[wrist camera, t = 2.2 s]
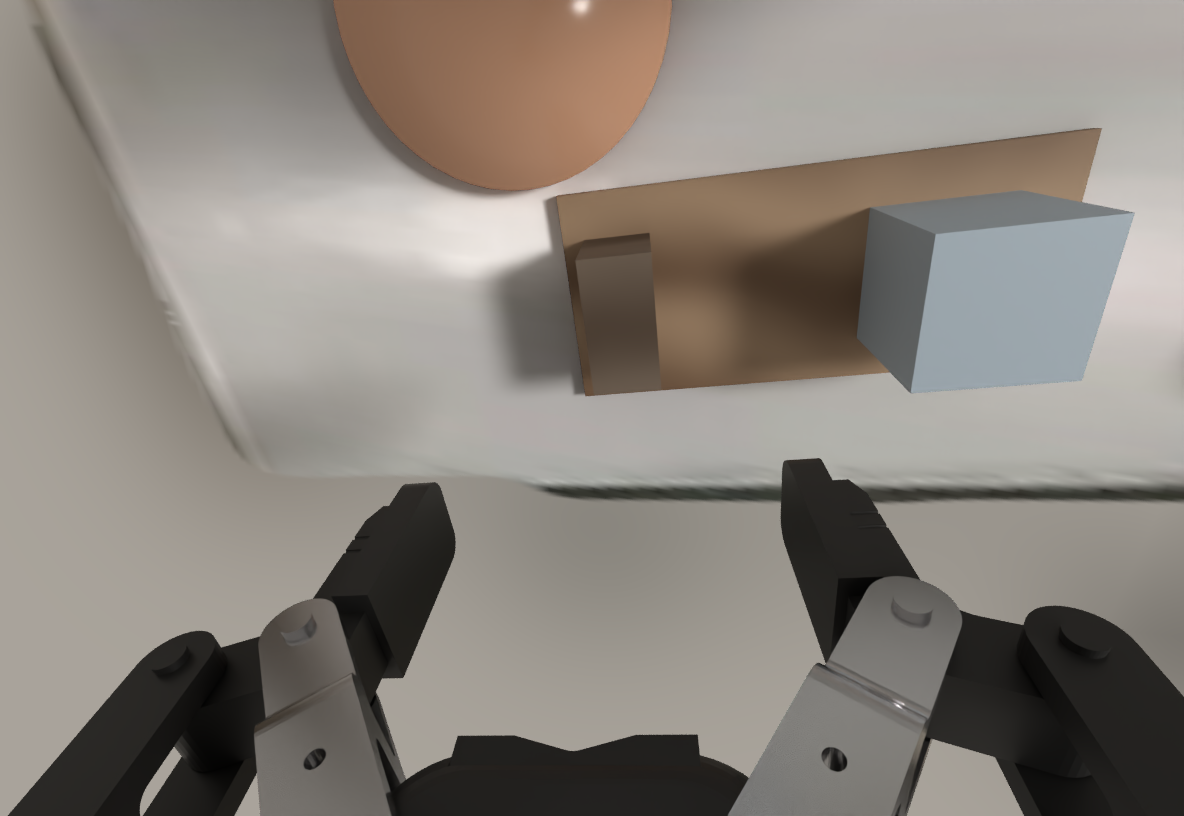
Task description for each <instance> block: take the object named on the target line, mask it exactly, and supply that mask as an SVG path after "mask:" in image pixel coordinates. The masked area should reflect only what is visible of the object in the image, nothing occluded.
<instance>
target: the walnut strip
mask: <svg viewBox="0 0 1184 816" xmlns="http://www.w3.org/2000/svg"><path fill="white" fill-rule="evenodd" d="M1101 129H1102V128H1090V129H1082V130H1074V131H1066V132H1058V133H1050V134H1042V135H1034V136H1027V137H1019V138H1011V139H1003V140H995V141H987V142H979V143H971V144H963V145H955V146H947V147H939V148H931V149H923V150H915V151H907V152H899V153H892V154H884V155H876V156H868V157H860V158H852V159H844V160H836V161H828V162H820V163H812V164H804V165H796V166H788V167H780V168H772V169H764V170H756V171H749V172H741V173H733V174H725V175H717V176H709V177H701V178H693V179H685V180H677V181H669V182H661V183H653V184H645V185H637V186H629V187H621V188H613V189H606V190H598V191H590V192H582V193H574V194H566V195H558V196H557V197H556V199H557V206H558V212H559V219H560V226H561V233H562V240H563V247H564V253H565V260H566V267H567V274H568V281H569V287H570V294H571V301H572V308H573V315H574V321H575V328H576V335H577V342H578V349H579V355H580V362H581V369H582V376H583V383H584V390H585V396H595V395H607V394H620V393H633V392H646V391H658V390H671V389H684V388H697V387H709V386H722V385H735V384H748V383H760V382H773V381H786V380H799V379H812V378H824V377H837V376H850V375H863V374H875V373H888V372H889V371H888V370H887V369H886V368H885V366H884V365H883V364H882V363H881V362H880V361H879V360H878V359H877V358H876V357H875V356H874V355H873V354H872V353H871V352H870V351H869V350H868V349H867V348H866V347H865V346H864V345H863V344H862V343H861V342H860V341H859V340H858V339H857V329H858V319H859V310H860V300H861V290H862V281H863V271H864V261H865V251H866V242H867V232H868V222H869V213H870V207H878V206H886V205H895V204H904V203H912V202H921V201H930V200H939V199H947V198H956V197H965V196H973V195H982V194H991V193H1000V192H1008V191H1017V190H1023V191H1028V192H1033V193H1038V194H1043V195H1048V196H1053V197H1058V198H1063V199H1068V200H1073V201H1078V202H1082V199H1083V196H1084V192H1085V188H1086V185H1087V181H1088V177H1089V174H1090V170H1091V166H1092V163H1093V159H1094V155H1095V151H1096V148H1097V144H1098V140H1099V137H1100V133H1101Z"/></svg>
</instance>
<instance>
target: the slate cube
mask: <svg viewBox="0 0 1184 816" xmlns="http://www.w3.org/2000/svg"><path fill="white" fill-rule="evenodd" d="M1134 214H1135V213H1133V212H1128V211H1123V210H1118V209H1113V208H1108V207H1103V206H1098V205H1093V204H1088V203H1083V202H1078V201H1073V200H1068V199H1063V198H1058V197H1053V196H1048V195H1043V194H1038V193H1033V192H1028V191H1023V190H1017V191H1008V192H1000V193H991V194H982V195H973V196H965V197H956V198H947V199H939V200H930V201H921V202H912V203H904V204H895V205H886V206H878V207H870V213H869V222H868V232H867V242H866V251H865V261H864V271H863V281H862V290H861V300H860V310H859V319H858V329H857V339H858V340H859V341H860V342H861V343H862V344H863V345H864V346H865V347H866V348H867V349H868V350H869V351H870V352H871V353H872V354H873V355H874V356H875V357H876V358H877V359H878V360H879V361H880V362H881V363H882V364H883V365H884V366H885V368H886V369H887V370H888V371H889V372H890V373H891V374H892V375H893V376H894V377H895V378H896V379H897V380H898V381H899V382H900V383H901V384H902V385H903V386H904V387H905V388H906V389H907V390H908V391H909V392H910V393H922V392H936V391H949V390H963V389H977V388H990V387H1004V386H1017V385H1031V384H1045V383H1058V382H1072V381H1082V378H1083V375H1084V372H1085V369H1086V366H1087V362H1088V359H1089V356H1090V353H1091V350H1092V347H1093V343H1094V340H1095V337H1096V334H1097V331H1098V328H1099V324H1100V321H1101V318H1102V315H1103V312H1104V309H1105V305H1106V302H1107V299H1108V296H1109V293H1110V290H1111V286H1112V283H1113V280H1114V277H1115V274H1116V271H1117V267H1118V264H1119V261H1120V258H1121V255H1122V252H1123V248H1124V245H1125V242H1126V239H1127V236H1128V233H1129V229H1130V226H1131V223H1132V220H1133V217H1134Z"/></svg>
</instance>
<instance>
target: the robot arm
mask: <svg viewBox="0 0 1184 816" xmlns="http://www.w3.org/2000/svg"><path fill="white" fill-rule="evenodd" d="M781 528H782V535H783V540H784V543H785V547H786V549H787V552H788V555H789V558H790V561H791V564H792V567H793V570H794V572H795V576H796V578H797V581H798V584H799V587H800V590H801V593H802V596H803V599H804V602H805V604H806V607H807V610H808V613H809V616H810V619H811V622H812V625H813V627H814V631H815V633H816V636H817V639H818V642H819V645H820V648H821V651H822V654H823V657H824V660H825V663H826V664H825V665H822V664H820V663H817V664H815V665H814V666H813V668H812V669H811V670H810V672H809V674H808V675H807V677H806V679H805V680H804V682H803V684H802V686H801V687H800V690H799V691H798V693H797V695H796V696H795V698H794V700H793V702H792V703H791V705H790V707H789V709H788V710H787V712H786V714H785V716H784V717H783V719H782V721H781V723H780V724H779V726H778V728H777V730H776V731H775V733H774V735H773V737H772V739H771V740H770V742H769V744H768V746H767V748H766V749H765V751H764V753H763V754H762V756H761V758H760V760H759V761H758V764H757V765H756V767H755V768H754V770H753V772H752V774H751V776H750V777H749V778H748V777H747V776H746V775H744V774H743V773H741V772H739V771H737V770H735V769H734V768H732V767H730V766H728V765H726V764H724V763H721V762H719V761H716V760H714V759H711V758H707V757H704V756H700V754H699V745H698V735H634V736H631V737H627V738H623V739H620V740H616V741H612V742H608V743H605V744H601V745H597V746H594V747H590V748H586V749H583V750H579V751H567V750H563V749H560V748H556V747H553V746H549V745H546V744H542V743H539V742H535V741H531V740H528V739H525V738H521V737H517V736H458V737H457V740H456V744H455V748H454V751H453V754H452V757H450V758H447V759H444V760H442V761H439V762H437V763H434V764H432V765H430V766H428V767H426V768H424V769H422V770H421V771H419V772H417V773H416V774H414V775H413V776H411V777H410V778H408V779H407V780H406V778H405V775H404V772H403V770H402V767H401V764H400V761H399V757H398V754H397V752H396V749H395V745H394V742H393V739H392V736H391V733H390V730H389V727H388V724H387V721H386V718H385V714H384V712H383V708H382V706H381V702H380V700H379V697H378V695H377V693H376V690H377V688H378V686H379V683H380V681H381V679H382V678H403V677H404V675H405V672H406V670H407V668H408V665H409V663H410V661H411V658H412V656H413V654H414V651H415V649H416V646H417V644H418V641H419V639H420V637H421V634H422V632H423V630H424V627H425V625H426V622H427V620H428V618H429V615H430V613H431V610H432V608H433V606H434V603H435V601H436V598H437V596H438V594H439V591H440V589H441V587H442V584H443V582H444V580H445V577H446V575H447V572H448V570H449V568H450V565H451V562H452V560H453V558H454V554H455V533H454V530H453V526H452V523H451V520H450V517H449V514H448V511H447V507H446V504H445V501H444V497H443V494H442V491H441V488H440V486H439V485H438V484H437V483H435V482H434V483H418V484H405V485H403V486H402V487H401V489H400V490H399V492H398V493H397V495H396V496H395V498H394V499H393V501H392V502H391V504H390V505H389V506H383V507H382V508H381V509H379V510H378V511H377V512H376V513H375V514H373V515H372V516H371V517H370V518H369V519H367V520H366V521H365V523H364V524H363V526H362V527H361V529H360V530H359V531H358V533H357V534H356V536H355V540H352V542H351V543H350V545H349V546H348V548H347V549H346V553H344V554H343V555H342V557H341V558H340V560H339V561H338V563H337V564H336V565H335V567H334V568H333V570H332V571H331V573H330V574H329V576H328V577H327V579H326V581H325V582H324V583H323V585H322V586H321V588H320V589H319V591H318V592H317V594H316V595H315V597H314V598H313V599H310V600H306V601H303V602H300V603H297V604H295V605H293V606H291V607H289V608H287V609H286V610H284V611H282V612H281V613H280V614H279V615H277V616H276V617H275V618H274V619H273V620H272V621H270V623H269V624H268V625H267V626H266V627H265V629H264V630H263V632H262V634H261V636H260V637H257V638H253V639H249V640H246V641H243V642H239V643H236V644H232V645H229V646H226V647H222V648H221V647H220V645H219V644H218V642H217V641H216V639H215V638H214V636H213V635H212V634H211V633H209V632H206V631H194V632H189V633H185V634H182V635H179V636H177V637H175V638H172V639H171V640H168V641H167V642H165V643H163V644H162V645H160V646H158V647H157V648H155V649H154V650H153V651H151V652H150V653H149V654H148V655H147V656H146V657H144V658H143V659H142V660H141V661H140V662H139V663H138V664H137V665H136V667H135V668H134V669H133V670H132V671H131V672H130V674H129V675H128V676H127V677H126V678H125V680H124V681H123V682H122V683H121V684H120V685H119V686H118V688H117V689H116V690H115V691H114V692H113V693H112V695H111V696H110V697H109V698H108V699H107V700H106V702H105V703H104V704H103V705H102V706H101V707H100V709H99V710H98V711H97V712H96V713H95V714H94V716H93V717H92V718H91V719H90V720H89V722H88V723H87V724H86V725H85V726H84V727H83V729H82V730H81V731H80V732H79V733H78V734H77V736H76V737H75V738H74V739H73V740H72V741H71V743H70V744H69V745H68V746H67V747H66V748H65V750H64V751H63V752H62V753H61V754H60V755H59V757H58V758H57V759H56V760H55V761H54V762H53V764H52V765H51V766H50V767H49V768H48V769H47V771H46V772H45V773H44V774H43V775H42V776H41V778H40V779H39V780H38V781H37V782H36V783H35V785H34V786H33V787H32V788H31V789H30V790H29V792H28V793H27V794H26V795H25V796H24V797H23V799H22V800H21V801H20V802H19V803H18V804H17V806H16V807H15V808H14V809H13V810H12V812H11V813H10V814H9V815H8V816H140V802H141V799H142V795H143V793H144V791H145V789H146V787H147V785H148V784H149V782H150V781H151V779H152V778H153V776H154V775H155V773H156V772H157V770H158V769H159V768H160V766H161V765H162V763H163V762H164V760H165V759H166V757H167V756H168V754H169V753H170V751H171V750H172V749H173V747H175V748H176V749H177V751H178V752H179V753H180V755H181V756H182V757H181V759H180V760H179V762H178V763H177V765H176V767H175V768H174V769H173V771H172V773H171V774H170V775H169V777H168V778H167V780H166V781H165V783H164V785H163V786H162V788H161V789H160V791H159V792H158V794H157V795H156V797H155V798H154V800H153V801H152V803H151V804H150V806H149V807H148V809H147V810H146V812H145V813H144V815H143V816H234V815H235V813H236V811H237V810H238V807H239V806H240V804H241V802H242V800H243V798H244V796H245V794H246V792H247V791H248V789H249V787H250V785H251V783H252V781H253V779H254V777H255V776H256V773H257V778H258V792H259V804H260V816H907V813H908V810H909V807H910V804H911V801H912V798H913V795H914V792H915V789H916V786H917V783H918V780H919V777H920V775H921V771H922V768H923V766H924V763H925V760H926V757H927V754H928V751H929V748H930V744H931V742H932V739H935V740H938V741H941V742H945V743H948V744H952V745H955V746H959V747H962V748H966V749H969V750H973V751H976V752H979V753H983V754H986V755H990V756H993V757H995V758H996V760H997V762H998V764H999V766H1000V768H1001V770H1002V772H1003V774H1004V776H1005V778H1006V780H1007V782H1008V784H1009V786H1010V788H1011V790H1012V792H1013V794H1014V796H1015V798H1016V800H1017V802H1018V804H1019V806H1020V808H1021V810H1022V812H1023V814H1024V816H1184V697H1183V695H1182V694H1181V693H1180V692H1179V691H1178V690H1177V689H1176V687H1175V686H1174V685H1173V684H1172V683H1171V682H1170V680H1169V679H1168V678H1167V677H1166V676H1165V675H1164V674H1163V673H1162V671H1161V670H1160V669H1159V668H1158V667H1157V666H1156V665H1155V663H1154V662H1153V661H1152V660H1151V659H1150V657H1149V656H1148V655H1147V654H1146V653H1145V652H1144V651H1143V649H1142V648H1141V647H1140V646H1139V645H1138V644H1137V643H1136V642H1135V641H1134V640H1133V639H1132V638H1131V637H1130V636H1129V635H1128V634H1126V633H1125V632H1124V631H1123V630H1121V629H1120V628H1119V627H1117V626H1115V625H1114V624H1112V623H1111V622H1109V621H1107V620H1105V619H1103V618H1101V617H1099V616H1096V615H1094V614H1091V613H1089V612H1086V611H1083V610H1079V609H1075V608H1070V607H1064V606H1045V607H1040V608H1037V609H1035V610H1033V611H1032V612H1030V613H1029V614H1028V616H1027V617H1026V619H1025V622H1024V625H1020V624H1014V623H1009V622H1005V621H1000V620H995V619H990V618H985V617H980V616H976V615H972V614H969V613H966V612H963V611H961V610H959V608H958V607H957V605H956V604H955V602H954V601H953V600H952V599H951V598H950V597H949V596H948V595H947V594H946V593H944V592H943V591H941V590H940V589H939V588H937V587H935V586H933V585H931V584H929V583H927V582H924V581H921V580H920V579H919V577H918V576H917V574H916V572H915V571H914V569H913V567H912V566H911V564H910V563H909V561H908V559H907V558H906V556H905V554H904V553H903V551H902V549H901V548H900V546H899V544H898V543H897V541H896V540H895V538H894V536H893V535H892V533H891V531H890V530H889V528H887V527H886V523H885V522H884V520H883V518H882V517H881V515H880V514H878V510H877V508H876V507H875V505H874V504H873V502H872V500H871V499H870V497H869V495H868V494H867V493H866V492H865V491H863V490H862V489H861V488H859V487H858V486H856V485H855V484H854V483H852V482H851V481H850V480H848V479H847V480H832V478H831V477H830V475H829V473H828V471H827V469H826V467H825V465H824V463H823V462H822V460H821V459H820V458H816V459H800V460H785V461H784V463H783V468H782V494H781Z"/></svg>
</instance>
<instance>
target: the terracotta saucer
mask: <svg viewBox="0 0 1184 816" xmlns="http://www.w3.org/2000/svg"><path fill="white" fill-rule="evenodd" d="M333 1H334V9H335V13H336V18H337V22H338V26H339V31H340V35H341V38H342V41H343V44H344V47H345V50H346V53H347V56H348V59H349V62H350V64H351V66H352V68H353V70H354V73H355V75H356V77H357V79H358V82H359V84H360V85H361V87H362V89H363V91H364V92H365V94H366V96H367V98H368V99H369V101H370V103H371V104H372V106H373V107H374V109H375V110H376V111H377V113H378V114H379V116H380V117H381V118H382V120H383V121H384V122H385V124H386V125H387V126H388V127H389V128H390V129H391V130H392V132H393V133H394V134H395V135H396V136H397V137H398V138H399V139H400V140H401V141H402V142H403V143H404V144H405V145H406V146H407V147H408V148H410V149H411V150H412V151H413V152H414V153H415V154H416V155H417V156H419V157H420V158H422V159H423V160H425V161H426V162H427V163H429V164H430V165H432V166H433V167H435V168H436V169H438V170H440V171H442V172H444V173H446V174H448V175H450V176H452V177H453V178H456V179H459V180H461V181H464V182H467V183H469V184H472V185H476V186H481V187H485V188H490V189H498V190H510V191H513V190H530V189H535V188H540V187H545V186H550V185H552V184H555V183H558V182H561V181H564V180H566V179H569V178H570V177H572V176H574V175H576V174H578V173H580V172H582V171H584V170H586V169H587V168H588V167H590V166H591V165H593V164H594V163H595V162H597V161H598V160H599V159H601V158H602V157H603V156H604V155H605V154H606V153H607V152H609V151H610V150H611V149H612V148H613V147H614V146H615V145H616V144H617V143H618V142H619V141H620V139H621V138H622V137H623V136H624V135H625V133H626V132H627V131H628V130H629V128H630V127H631V126H632V124H633V123H634V121H635V120H636V118H637V117H638V115H639V113H640V112H641V110H642V109H643V107H644V105H645V103H646V101H647V99H648V97H649V95H650V93H651V91H652V89H653V86H654V84H655V81H656V79H657V76H658V73H659V70H660V67H661V64H662V61H663V57H664V53H665V48H666V44H667V40H668V35H669V27H670V19H671V10H672V0H333Z"/></svg>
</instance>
